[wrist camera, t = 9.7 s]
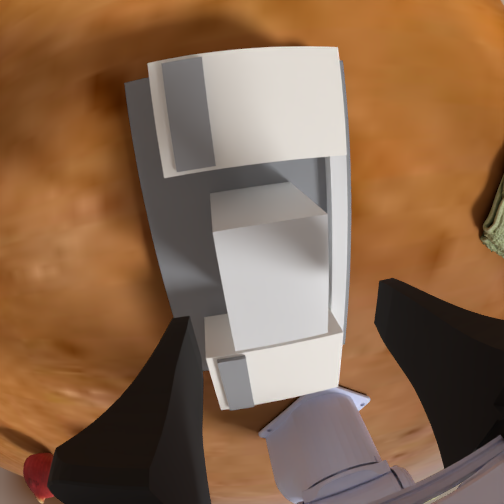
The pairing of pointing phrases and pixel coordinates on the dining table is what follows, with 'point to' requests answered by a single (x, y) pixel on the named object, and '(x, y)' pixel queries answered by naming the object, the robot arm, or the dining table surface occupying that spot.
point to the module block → (272, 263)
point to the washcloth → (495, 224)
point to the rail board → (243, 176)
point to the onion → (38, 474)
